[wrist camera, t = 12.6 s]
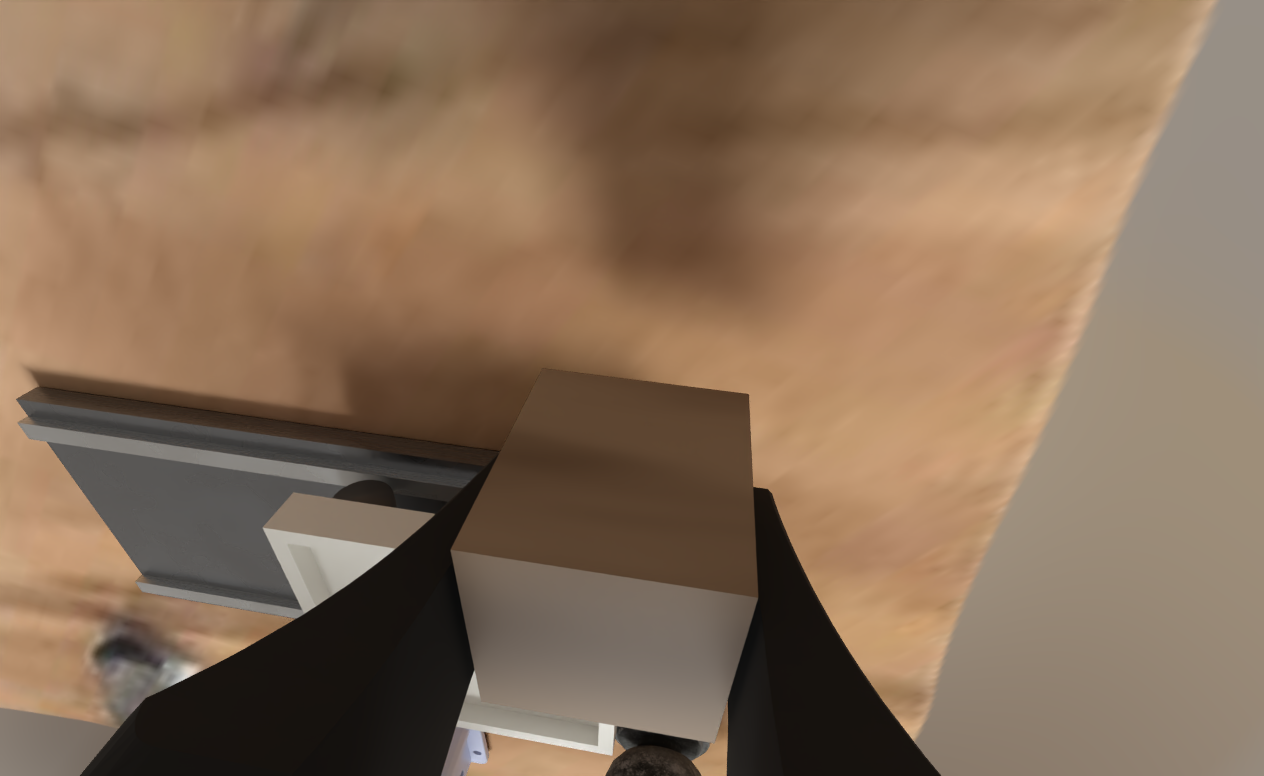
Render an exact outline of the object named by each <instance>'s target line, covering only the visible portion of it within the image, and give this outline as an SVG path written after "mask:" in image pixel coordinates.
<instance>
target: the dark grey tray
mask: <svg viewBox="0 0 1264 776" xmlns="http://www.w3.org/2000/svg"><path fill="white" fill-rule="evenodd" d="M16 400H17V401H18V403H19V404H20V405H21V407H22V408H23V410H24V411H25V412H26V414H27V415H28V417H26V418H24V419H23V420H21V421H19V422H18V424H19V426H20V427H21V428H22V430H23V431H24V432H25V434H26V435H27V436H28V438H29V439H33V440H39V441H46V442H47V443H48V444H49V446H50V447H51V448H52V450H53V451H54V453H55V454H56V455H57V457H58V458H59V460H60V461H61V462H62V464H63V465H64V467H65V468H66V469H67V471H68V472H69V473H70V475H71V476H72V478H73V479H74V480H75V482H76V483H77V485H78V486H79V487H80V489H81V490H82V492H83V493H84V494H85V496H86V497H87V498H88V500H89V501H90V503H91V504H92V505H93V507H94V508H95V510H96V511H97V512H98V514H99V515H100V517H101V518H102V519H103V521H104V522H105V523H106V525H107V526H108V528H109V529H110V530H111V532H112V533H113V535H114V536H115V537H116V539H117V540H118V542H119V543H120V544H121V546H122V547H123V548H124V550H125V551H126V553H127V554H128V555H129V557H130V558H131V560H132V561H133V562H134V564H135V565H136V567H137V568H138V569H139V571H140V572H141V573H142V575H141V576H140V577H139V578H138V579H137V580H136V581H135V582H136V584H137V585H138V586H139V588H140V589H141V590H142V592H147V593H153V594H157V595H162V596H168V597H173V598H179V599H185V600H191V601H197V602H202V603H208V604H214V605H220V606H225V607H231V608H237V609H243V610H249V611H254V612H260V613H266V614H272V615H278V616H283V617H289V618H295V619H297V618H298V617H300V616H301V615H303V614H304V612H303V610H302V608H301V606H300V604H299V602H298V600H297V598H296V596H295V594H294V592H293V590H292V587H291V585H290V583H289V581H288V579H287V577H286V575H285V573H284V571H283V569H282V567H281V565H280V563H279V561H278V559H277V557H276V555H275V552H274V550H273V548H272V546H271V544H270V542H269V540H268V538H267V536H266V534H265V532H264V530H263V526H264V525H265V524H266V523H267V522H268V521H269V520H270V518H271V517H272V516H273V515H274V514H275V513H276V512H277V510H278V509H279V508H280V507H281V506H282V505H283V504H284V503H285V501H286V500H287V499H288V498H289V497H290V496H291V495H292V493H293V492H295V493H301V494H308V495H314V496H321V497H327V498H332V497H333V496H334V495H335V494H336V493H337V492H338V491H340V490H341V489H342V488H344V487H346V486H348V485H350V484H352V483H355V482H358V481H363V480H379V481H382V482H385V483H387V484H388V485H389V486H390V487H391V488H392V490H393V493H394V497H395V500H396V504H397V508H400V509H406V510H413V511H420V512H426V513H433V514H436V513H437V512H438V511H439V510H440V509H441V508H443V507H444V506H445V505H446V504H447V503H448V502H449V501H450V500H451V499H452V498H453V497H454V496H455V495H456V494H457V493H458V492H459V491H460V490H462V489H463V488H464V487H465V486H466V485H467V484H468V483H469V482H470V481H471V480H472V479H473V478H474V477H475V476H476V475H477V474H478V473H479V472H480V471H481V470H482V469H483V468H484V466H485V465H486V464H487V463H488V462H489V461H490V460H491V459H492V458H493V457H494V456H495V455H497V454H498V453H499V452H498V451H491V450H483V449H476V448H469V447H462V446H455V445H448V444H441V443H434V442H426V441H419V440H412V439H405V438H398V437H391V436H384V435H377V434H369V433H362V432H355V431H348V430H341V429H334V428H327V427H320V426H312V425H305V424H298V423H291V422H284V421H277V420H270V419H263V418H255V417H248V416H241V415H234V414H227V413H220V412H213V411H206V410H199V409H191V408H184V407H177V406H170V405H163V404H156V403H149V402H142V401H134V400H127V399H120V398H113V397H106V396H99V395H92V394H85V393H77V392H70V391H63V390H56V389H49V388H42V387H37V388H35V389H33V390H31V391H29V392H28V393H26V394H24V395H22V396H21V397H19V398H17V399H16Z"/></svg>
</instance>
